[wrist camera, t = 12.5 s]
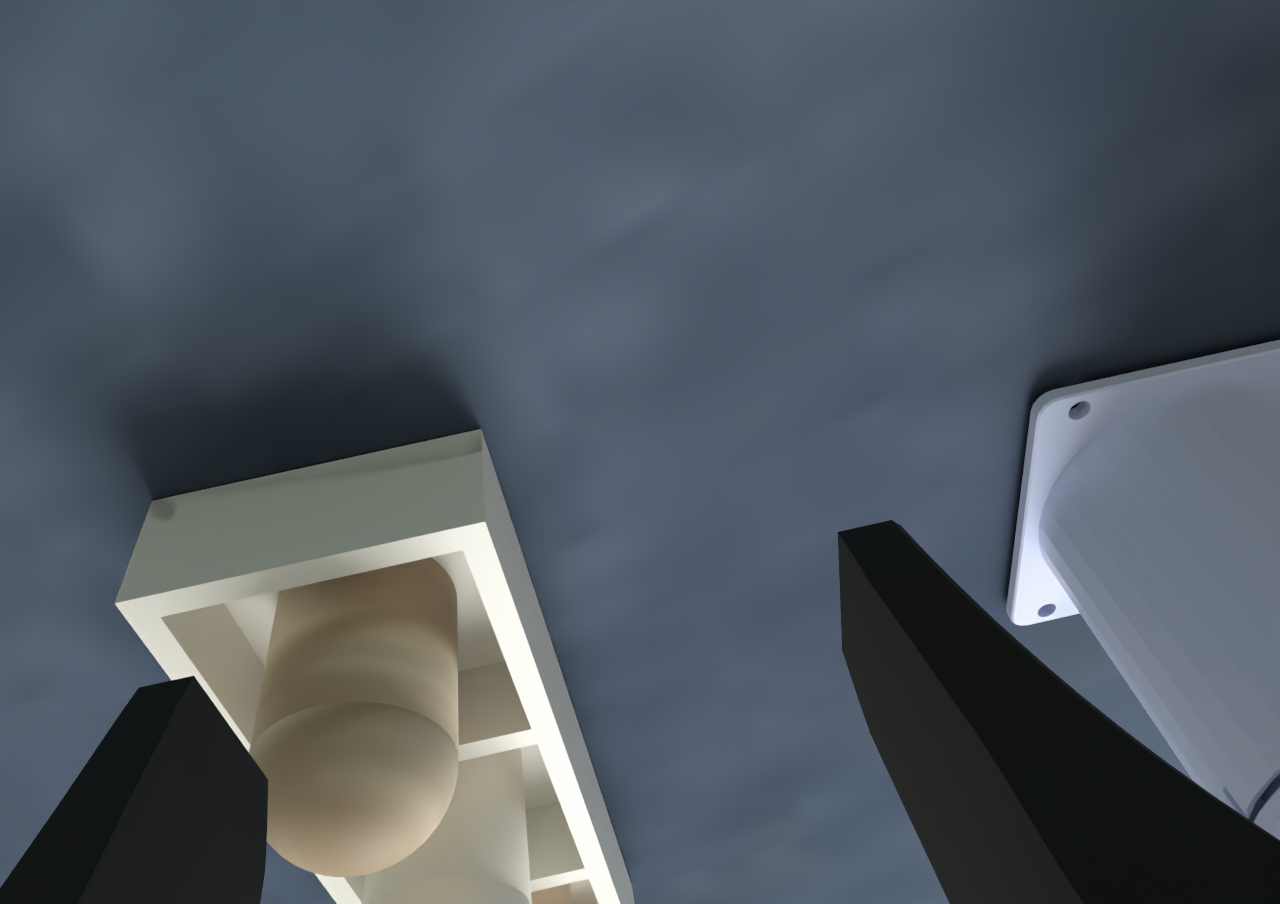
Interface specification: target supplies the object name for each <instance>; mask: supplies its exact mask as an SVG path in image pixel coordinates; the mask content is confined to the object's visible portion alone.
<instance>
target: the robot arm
mask: <svg viewBox="0 0 1280 904" xmlns="http://www.w3.org/2000/svg"><path fill="white" fill-rule="evenodd" d="M1079 402H1080V404H1079V405H1078V406H1076V407H1075V408H1073V409H1071V410H1070V408H1071V407H1072V406H1074V405H1075V404H1076V403H1079ZM838 547H839V574H840V601H841V628H842V651H843V654H844V657H845V660H846V663H847V666H848V669H849V672H850V675H851V678H852V681H853V684H854V687H855V690H856V693H857V696H858V699H859V702H860V705H861V708H862V711H863V713H864V716H865V719H866V722H867V725H868V728H869V731H870V733H871V736H872V738H873V740H874V742H875V744H876V747H877V749H878V751H879V753H880V755H881V758H882V760H883V762H884V764H885V766H886V768H887V770H888V773H889V775H890V777H891V779H892V781H893V783H894V786H895V788H896V790H897V792H898V794H899V796H900V799H901V801H902V803H903V805H904V807H905V809H906V811H907V813H908V816H909V818H910V820H911V822H912V824H913V826H914V828H915V830H916V833H917V835H918V837H919V839H920V841H921V843H922V845H923V848H924V850H925V852H926V854H927V856H928V858H929V860H930V862H931V865H932V867H933V869H934V871H935V873H936V875H937V877H938V879H939V882H940V884H941V886H942V888H943V890H944V892H945V894H946V897H947V899H948V901H949V903H950V904H1280V340H1276V341H1271V342H1267V343H1262V344H1258V345H1253V346H1249V347H1244V348H1240V349H1235V350H1231V351H1226V352H1221V353H1217V354H1212V355H1208V356H1203V357H1199V358H1194V359H1190V360H1185V361H1181V362H1176V363H1172V364H1167V365H1163V366H1158V367H1153V368H1149V369H1144V370H1140V371H1135V372H1131V373H1126V374H1122V375H1117V376H1113V377H1108V378H1104V379H1099V380H1095V381H1090V382H1086V383H1081V384H1076V385H1072V386H1067V387H1063V388H1058V389H1054V390H1051V391H1049V392H1046V393H1044V394H1043V395H1041V396H1040V397H1039V398H1038V399H1037V400H1036V401H1035V403H1034V404H1033V406H1032V409H1031V413H1030V421H1029V429H1028V437H1027V445H1026V454H1025V462H1024V470H1023V478H1022V486H1021V494H1020V502H1019V510H1018V518H1017V526H1016V534H1015V543H1014V551H1013V559H1012V567H1011V575H1010V583H1009V591H1008V599H1007V607H1006V610H1007V614H1008V616H1009V617H1010V619H1011V621H1012V622H1013V623H1014V624H1016V625H1021V626H1022V625H1030V624H1034V623H1039V622H1043V621H1048V620H1052V619H1057V618H1061V617H1065V616H1070V615H1074V614H1079V613H1080V614H1081V616H1082V617H1083V619H1084V620H1085V621H1086V623H1087V624H1088V626H1089V627H1090V629H1091V630H1092V632H1093V633H1094V635H1095V636H1096V638H1097V639H1098V641H1099V642H1100V644H1101V645H1102V647H1103V648H1104V650H1105V651H1106V652H1107V654H1108V655H1109V657H1110V658H1111V660H1112V661H1113V663H1114V664H1115V666H1116V667H1117V669H1118V670H1119V672H1120V673H1121V675H1122V676H1123V678H1124V679H1125V681H1126V682H1127V684H1128V685H1129V686H1130V688H1131V689H1132V691H1133V692H1134V694H1135V695H1136V697H1137V698H1138V700H1139V701H1140V703H1141V704H1142V706H1143V707H1144V709H1145V710H1146V712H1147V713H1148V715H1149V716H1150V717H1151V719H1152V720H1153V722H1154V723H1155V725H1156V726H1157V728H1158V729H1159V731H1160V732H1161V734H1162V735H1163V737H1164V738H1165V740H1166V741H1167V743H1168V744H1169V746H1170V747H1171V748H1172V750H1173V751H1174V753H1175V754H1176V756H1177V757H1178V759H1179V760H1180V762H1181V763H1182V765H1183V766H1184V768H1185V769H1186V771H1187V772H1188V774H1189V775H1190V777H1191V778H1192V779H1193V781H1192V780H1191V779H1189V778H1188V777H1187V776H1185V775H1184V774H1182V773H1181V772H1180V771H1178V770H1177V769H1175V768H1174V767H1172V766H1171V765H1170V764H1168V763H1167V762H1166V761H1164V760H1163V759H1162V758H1160V757H1159V756H1158V755H1156V754H1155V753H1154V752H1152V751H1151V750H1150V749H1148V748H1147V747H1146V746H1144V745H1143V744H1142V743H1140V742H1139V741H1138V740H1136V739H1135V738H1134V737H1133V736H1131V735H1130V734H1129V733H1127V732H1126V731H1125V730H1123V729H1122V728H1121V727H1120V726H1118V725H1117V724H1116V723H1115V722H1113V721H1112V720H1111V719H1110V718H1108V717H1107V716H1106V715H1105V714H1103V713H1102V712H1101V711H1100V710H1098V709H1097V708H1096V707H1095V706H1093V705H1092V704H1091V703H1090V702H1088V701H1087V700H1086V699H1085V698H1084V697H1082V696H1081V695H1080V694H1079V693H1077V692H1076V691H1075V690H1074V689H1073V688H1071V687H1070V686H1069V685H1068V684H1067V683H1065V682H1064V681H1063V680H1062V679H1061V678H1060V677H1058V676H1057V675H1056V674H1055V673H1054V672H1052V671H1051V670H1050V669H1049V668H1048V667H1047V666H1046V665H1044V664H1043V663H1042V662H1041V661H1040V660H1039V659H1038V658H1037V657H1035V656H1034V655H1033V654H1032V653H1031V652H1030V651H1029V650H1028V649H1027V648H1025V647H1024V646H1023V645H1022V644H1021V643H1020V642H1019V641H1018V640H1016V639H1015V638H1014V637H1013V636H1012V635H1011V634H1010V633H1009V632H1007V631H1006V630H1005V629H1004V628H1003V627H1002V626H1001V625H1000V624H999V623H998V622H996V621H995V620H994V619H993V618H992V617H991V616H990V615H989V614H988V613H987V612H986V611H985V610H984V609H983V608H982V607H980V606H979V605H978V604H977V603H976V602H975V601H974V600H973V599H972V598H971V597H970V596H969V595H968V594H967V593H966V592H965V591H964V590H963V589H962V588H961V587H960V586H959V585H958V584H957V583H956V582H955V581H954V580H953V579H952V578H951V577H950V576H949V575H948V574H947V573H946V572H945V571H944V570H943V569H942V568H941V567H940V566H939V565H938V564H937V563H936V562H935V561H934V560H933V559H932V558H931V557H930V556H929V555H928V554H927V553H926V552H925V551H924V550H923V549H922V548H921V547H920V546H919V544H918V543H917V542H916V541H915V540H914V539H913V538H912V537H911V536H910V535H909V534H908V533H907V532H906V531H905V529H904V528H903V527H902V526H901V525H899V524H897V523H896V522H894V521H892V520H890V521H885V522H881V523H876V524H872V525H868V526H863V527H859V528H854V529H850V530H845V531H841V532H838ZM267 814H268V779H267V777H266V776H265V775H264V773H263V772H262V770H261V769H260V768H259V766H258V765H257V763H256V762H255V761H254V759H253V758H252V756H251V755H250V754H249V752H248V751H247V749H246V748H245V747H244V745H243V744H242V742H241V741H240V740H239V738H238V737H237V735H236V734H235V733H234V731H233V730H232V728H231V727H230V726H229V724H228V723H227V721H226V720H225V718H224V717H223V716H222V714H221V713H220V711H219V710H218V709H217V707H216V706H215V704H214V703H213V702H212V700H211V699H210V697H209V696H208V695H207V693H206V692H205V690H204V689H203V688H202V686H201V685H200V683H199V682H198V681H197V679H196V678H195V676H190V677H185V678H181V679H176V680H172V681H167V682H163V683H158V684H154V685H149V686H145V687H140V688H138V690H137V691H136V693H135V694H134V695H133V697H132V698H131V700H130V701H129V702H128V704H127V705H126V707H125V708H124V709H123V711H122V712H121V714H120V715H119V717H118V718H117V719H116V721H115V722H114V724H113V725H112V727H111V728H110V730H109V731H108V733H107V734H106V736H105V737H104V739H103V740H102V741H101V743H100V744H99V746H98V747H97V749H96V750H95V752H94V753H93V755H92V756H91V758H90V759H89V761H88V762H87V764H86V765H85V767H84V768H83V770H82V771H81V773H80V774H79V776H78V777H77V778H76V780H75V781H74V783H73V784H72V786H71V787H70V789H69V790H68V792H67V793H66V795H65V796H64V798H63V799H62V801H61V802H60V803H59V805H58V806H57V808H56V809H55V811H54V812H53V814H52V815H51V816H50V818H49V819H48V821H47V822H46V824H45V825H44V826H43V828H42V829H41V831H40V832H39V834H38V835H37V836H36V838H35V839H34V841H33V842H32V844H31V845H30V846H29V848H28V849H27V851H26V852H25V854H24V855H23V857H22V858H21V859H20V861H19V862H18V864H17V865H16V867H15V868H14V869H13V871H12V872H11V874H10V875H9V877H8V878H7V879H6V881H5V882H4V884H3V885H2V886H1V888H0V904H260V900H261V894H262V887H263V880H264V874H265V860H266V842H267Z"/></svg>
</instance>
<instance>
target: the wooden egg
mask: <svg viewBox="0 0 1280 904" xmlns="http://www.w3.org/2000/svg"><path fill="white" fill-rule="evenodd" d="M249 754H250V755H251V756H252V758H253V759H254V761H255V762H256V763H257V765H258V766H259V768H260V769H261V770H262V772H263V773H264V775H265V776H266V777H267V779H268V814H267V842H268V843H269V844H270V845H271V846H272V847H273V848H274V849H275V850H276V851H277V852H278V853H279V854H280V855H281V856H282V857H283V858H285V859H286V860H288V861H289V862H291V863H293V864H294V865H296V866H298V867H300V868H302V869H304V870H307V871H310V872H313V873H316V874H320V875H324V876H330V877H356V876H362V875H367V874H371V873H374V872H377V871H380V870H383V869H386V868H388V867H390V866H392V865H394V864H396V863H398V862H400V861H401V860H403V859H404V858H406V857H407V856H409V855H410V854H412V853H413V852H414V851H415V850H416V849H417V848H419V847H420V846H421V845H422V844H423V843H424V842H425V841H426V840H427V839H428V838H429V836H430V835H431V834H432V833H433V831H434V830H435V829H436V828H437V826H438V825H439V823H440V822H441V820H442V818H443V816H444V815H445V813H446V811H447V809H448V807H449V804H450V802H451V799H452V797H453V793H454V790H455V786H456V782H457V775H458V762H459V740H458V622H457V592H456V589H455V586H454V583H453V581H452V579H451V577H450V576H449V575H448V573H447V572H446V570H445V569H444V568H443V567H442V566H441V565H440V564H439V563H438V562H436V561H435V560H434V559H432V558H431V557H430V558H425V559H421V560H416V561H412V562H407V563H403V564H398V565H394V566H389V567H385V568H380V569H376V570H371V571H367V572H362V573H357V574H353V575H348V576H344V577H339V578H335V579H330V580H326V581H321V582H317V583H312V584H308V585H303V586H299V587H294V588H290V589H285V590H281V591H279V595H278V600H277V605H276V611H275V616H274V621H273V627H272V632H271V637H270V643H269V648H268V653H267V659H266V664H265V669H264V675H263V680H262V685H261V691H260V696H259V701H258V707H257V712H256V717H255V723H254V728H253V733H252V739H251V744H250V749H249Z"/></svg>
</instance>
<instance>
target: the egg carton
mask: <svg viewBox="0 0 1280 904" xmlns="http://www.w3.org/2000/svg"><path fill="white" fill-rule="evenodd" d="M430 557H431V558H432V559H434V560H435V561H436V562H438V563H439V564H440V565H441V566H442V567H443V568H444V569H445V570H446V572H447V573H448V575H449V576H450V577H451V579H452V581H453V583H454V586H455V589H456V592H457V622H458V740H459V762H458V775H457V782H456V786H455V790H454V793H453V797H452V799H451V802H450V804H449V807H448V809H447V811H446V813H445V815H444V816H443V818H442V820H441V822H440V823H439V825H438V826H437V828H436V829H435V830H434V831H433V833H432V834H431V835H430V836H429V838H428V839H427V840H426V841H425V842H424V843H423V844H422V845H421V846H420V847H419V848H417V849H416V850H415V851H414V852H413V853H412V854H410V855H409V856H407V857H406V858H404V859H403V860H401V861H400V862H398V863H396V864H394V865H392V866H390V867H388V868H386V869H383V870H380V871H377V872H374V873H371V874H367V875H362V876H356V877H330V876H324V875H320V874H316V873H315V875H316V876H317V877H318V879H319V880H320V881H321V883H322V884H323V886H324V887H325V888H326V890H327V891H328V892H329V894H330V895H331V896H332V898H333V899H334V900H335V902H336V903H337V904H634V897H633V890H632V885H631V882H630V879H629V876H628V873H627V870H626V866H625V863H624V860H623V857H622V854H621V851H620V848H619V845H618V842H617V839H616V836H615V833H614V830H613V827H612V824H611V821H610V818H609V815H608V812H607V809H606V806H605V803H604V800H603V797H602V794H601V791H600V788H599V785H598V782H597V779H596V775H595V772H594V769H593V766H592V763H591V760H590V757H589V754H588V751H587V748H586V745H585V742H584V739H583V736H582V733H581V730H580V727H579V724H578V721H577V718H576V715H575V712H574V709H573V706H572V703H571V700H570V697H569V694H568V691H567V688H566V684H565V681H564V678H563V675H562V672H561V669H560V666H559V663H558V660H557V657H556V654H555V651H554V648H553V645H552V642H551V639H550V636H549V633H548V630H547V627H546V624H545V621H544V618H543V615H542V612H541V609H540V606H539V603H538V600H537V596H536V593H535V590H534V587H533V584H532V581H531V578H530V575H529V572H528V569H527V566H526V563H525V560H524V557H523V554H522V551H521V548H520V545H519V542H518V539H517V536H516V533H515V530H514V527H513V524H512V521H511V518H510V515H509V512H508V509H507V505H506V502H505V499H504V496H503V493H502V490H501V487H500V484H499V481H498V478H497V475H496V472H495V469H494V466H493V463H492V460H491V457H490V454H489V451H488V448H487V445H486V442H485V439H484V436H483V433H482V430H481V429H478V430H474V431H469V432H465V433H460V434H455V435H451V436H446V437H442V438H437V439H433V440H428V441H423V442H419V443H414V444H410V445H405V446H401V447H396V448H391V449H387V450H382V451H378V452H373V453H369V454H364V455H359V456H355V457H350V458H346V459H341V460H337V461H332V462H327V463H323V464H318V465H314V466H309V467H305V468H300V469H295V470H291V471H286V472H282V473H277V474H273V475H268V476H263V477H259V478H254V479H250V480H245V481H241V482H236V483H231V484H227V485H222V486H218V487H213V488H209V489H204V490H199V491H195V492H190V493H186V494H181V495H177V496H172V497H167V498H163V499H158V500H154V501H152V502H151V505H150V507H149V510H148V513H147V516H146V518H145V521H144V524H143V527H142V529H141V532H140V535H139V538H138V540H137V543H136V546H135V549H134V551H133V554H132V557H131V560H130V562H129V565H128V568H127V571H126V573H125V576H124V579H123V582H122V584H121V587H120V590H119V593H118V595H117V598H116V601H115V605H116V606H117V607H118V609H119V610H120V611H121V613H122V614H123V615H124V617H125V618H126V619H127V621H128V622H129V624H130V625H131V626H132V628H133V629H134V630H135V632H136V633H137V634H138V636H139V637H140V638H141V640H142V641H143V642H144V644H145V645H146V646H147V648H148V649H149V651H150V652H151V653H152V655H153V656H154V657H155V659H156V660H157V661H158V663H159V664H160V665H161V667H162V668H163V669H164V671H165V672H166V673H167V675H168V676H169V678H170V679H171V680H176V679H181V678H185V677H190V676H195V678H196V679H197V681H198V682H199V683H200V685H201V686H202V688H203V689H204V690H205V692H206V693H207V695H208V696H209V697H210V699H211V700H212V702H213V703H214V704H215V706H216V707H217V709H218V710H219V711H220V713H221V714H222V716H223V717H224V718H225V720H226V721H227V723H228V724H229V726H230V727H231V728H232V730H233V731H234V733H235V734H236V735H237V737H238V738H239V740H240V741H241V742H242V744H243V745H244V747H245V748H246V749H247V751H248V752H249V749H250V744H251V739H252V733H253V728H254V723H255V717H256V712H257V707H258V701H259V696H260V691H261V685H262V680H263V675H264V669H265V664H266V659H267V653H268V648H269V643H270V637H271V632H272V627H273V621H274V616H275V611H276V605H277V600H278V595H279V591H281V590H285V589H290V588H294V587H299V586H303V585H308V584H312V583H317V582H321V581H326V580H330V579H335V578H339V577H344V576H348V575H353V574H357V573H362V572H367V571H371V570H376V569H380V568H385V567H389V566H394V565H398V564H403V563H407V562H412V561H416V560H421V559H425V558H430Z"/></svg>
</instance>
